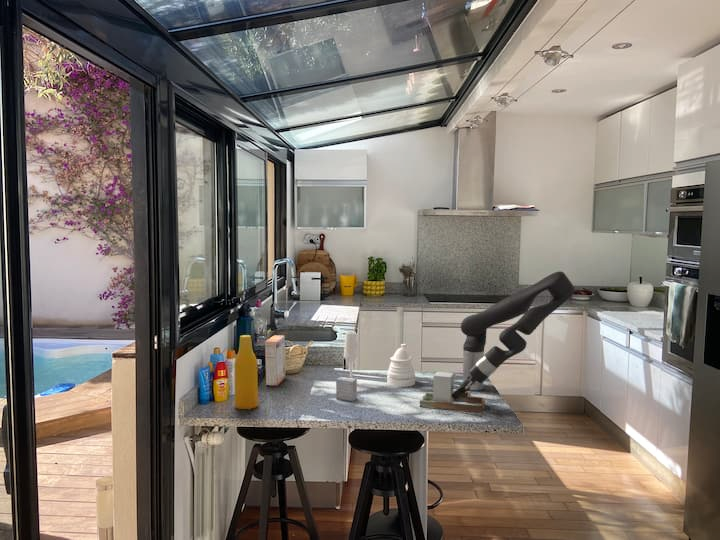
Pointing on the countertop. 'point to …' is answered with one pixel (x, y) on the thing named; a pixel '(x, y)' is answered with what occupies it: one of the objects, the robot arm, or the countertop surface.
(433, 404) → the wooden tray
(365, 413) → the countertop surface
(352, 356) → the champagne flute
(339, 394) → the medicine box
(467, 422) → the countertop surface
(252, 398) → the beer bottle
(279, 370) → the cracker box
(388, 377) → the honey pot
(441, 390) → the supplement box
